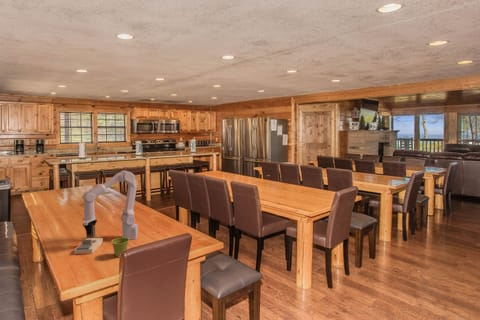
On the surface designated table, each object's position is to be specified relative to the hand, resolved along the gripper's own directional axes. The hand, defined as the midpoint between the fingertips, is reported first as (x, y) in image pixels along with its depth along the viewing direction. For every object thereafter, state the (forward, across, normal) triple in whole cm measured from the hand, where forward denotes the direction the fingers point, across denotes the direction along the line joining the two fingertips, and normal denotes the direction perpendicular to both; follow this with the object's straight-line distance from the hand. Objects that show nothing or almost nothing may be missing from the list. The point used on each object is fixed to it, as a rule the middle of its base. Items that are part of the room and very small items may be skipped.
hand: (90, 233), depth 190 cm
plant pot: (+8, +16, +22) cm, 28 cm away
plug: (+2, 0, 0) cm, 2 cm away
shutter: (+5, +9, 0) cm, 11 cm away
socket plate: (+8, +3, 0) cm, 8 cm away
